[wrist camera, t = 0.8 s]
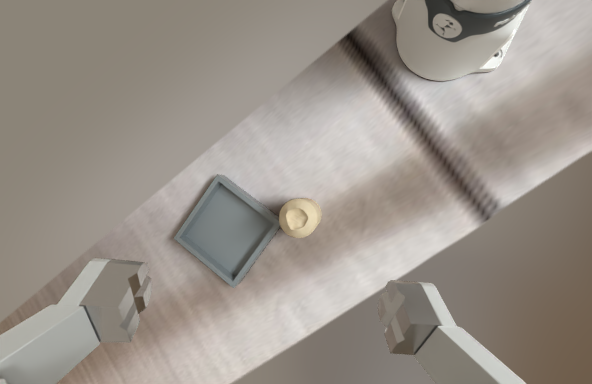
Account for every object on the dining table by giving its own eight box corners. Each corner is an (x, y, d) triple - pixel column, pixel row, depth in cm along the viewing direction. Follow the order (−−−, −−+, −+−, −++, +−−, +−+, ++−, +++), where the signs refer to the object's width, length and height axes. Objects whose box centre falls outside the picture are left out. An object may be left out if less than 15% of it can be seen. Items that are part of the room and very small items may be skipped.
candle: (310, 236, 47) (302, 247, 37) (283, 218, 48) (269, 225, 38) (328, 209, 47) (324, 213, 37) (300, 192, 48) (290, 191, 38)
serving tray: (224, 175, 50) (217, 174, 47) (284, 221, 48) (281, 223, 45) (182, 236, 51) (173, 238, 48) (239, 283, 49) (233, 288, 46)
